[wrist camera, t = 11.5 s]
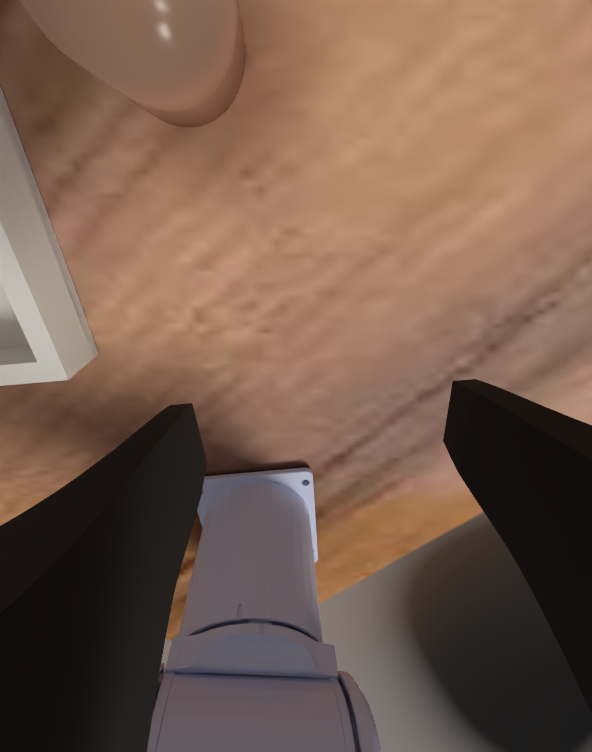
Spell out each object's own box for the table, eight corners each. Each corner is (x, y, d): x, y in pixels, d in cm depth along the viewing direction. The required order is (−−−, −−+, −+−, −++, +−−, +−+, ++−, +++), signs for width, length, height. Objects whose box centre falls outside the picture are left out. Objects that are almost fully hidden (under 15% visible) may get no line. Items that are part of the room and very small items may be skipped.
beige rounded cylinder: (253, 122, 14) (238, 75, 9) (131, 132, 14) (42, 90, 9) (234, -57, 12) (199, -268, 6) (88, -46, 12) (-69, -249, 6)
